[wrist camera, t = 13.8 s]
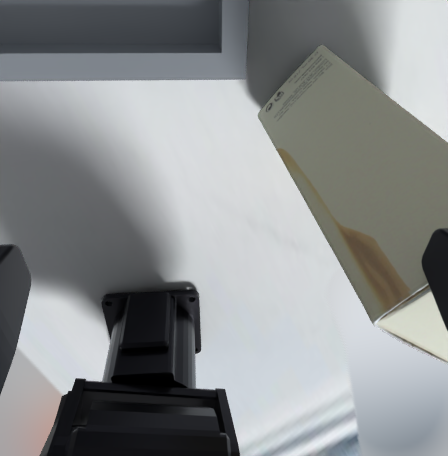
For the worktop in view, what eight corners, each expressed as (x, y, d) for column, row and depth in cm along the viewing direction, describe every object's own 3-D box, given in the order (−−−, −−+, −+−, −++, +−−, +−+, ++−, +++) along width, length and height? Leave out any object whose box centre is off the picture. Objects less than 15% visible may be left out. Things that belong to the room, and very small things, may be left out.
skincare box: (252, 113, 18) (358, 324, 9) (320, 38, 16) (540, 205, 7) (331, 179, 21) (467, 382, 12) (395, 122, 20) (609, 310, 10)
